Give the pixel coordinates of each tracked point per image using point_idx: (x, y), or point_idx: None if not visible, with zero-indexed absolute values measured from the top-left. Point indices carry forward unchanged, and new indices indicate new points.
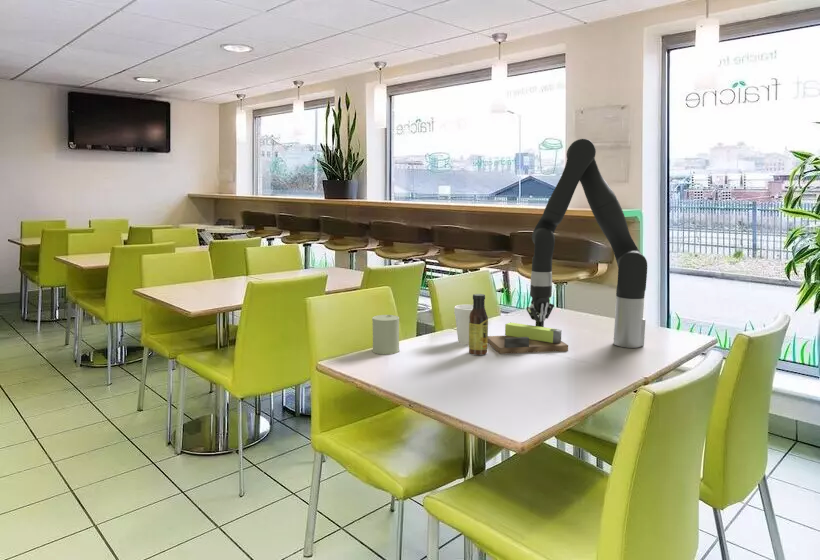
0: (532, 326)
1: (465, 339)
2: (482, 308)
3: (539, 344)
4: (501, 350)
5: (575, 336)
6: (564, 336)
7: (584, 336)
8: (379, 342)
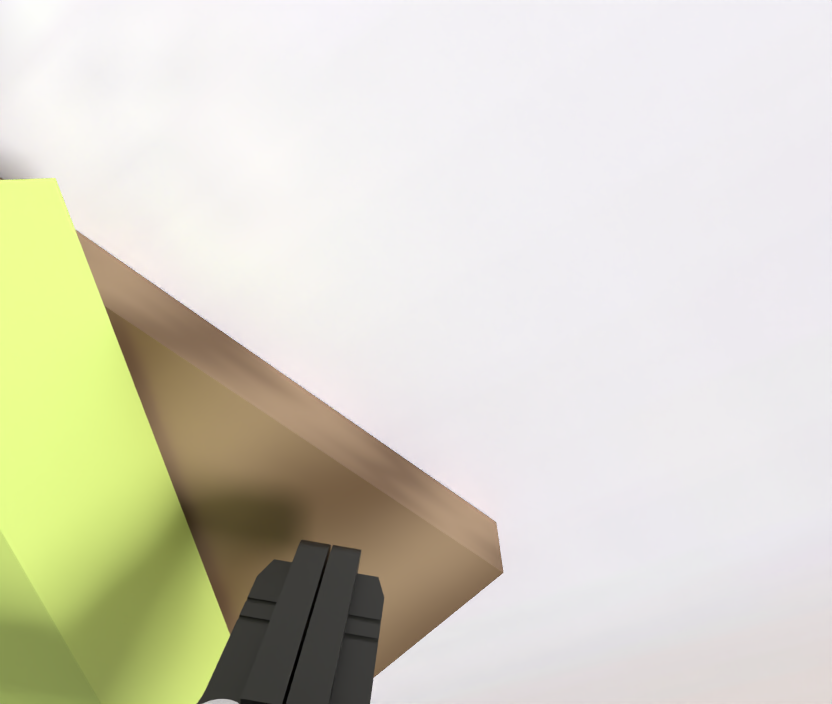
0: (24, 678)
1: None
2: None
3: None
4: None
5: (773, 648)
6: (714, 582)
7: (817, 696)
8: None
